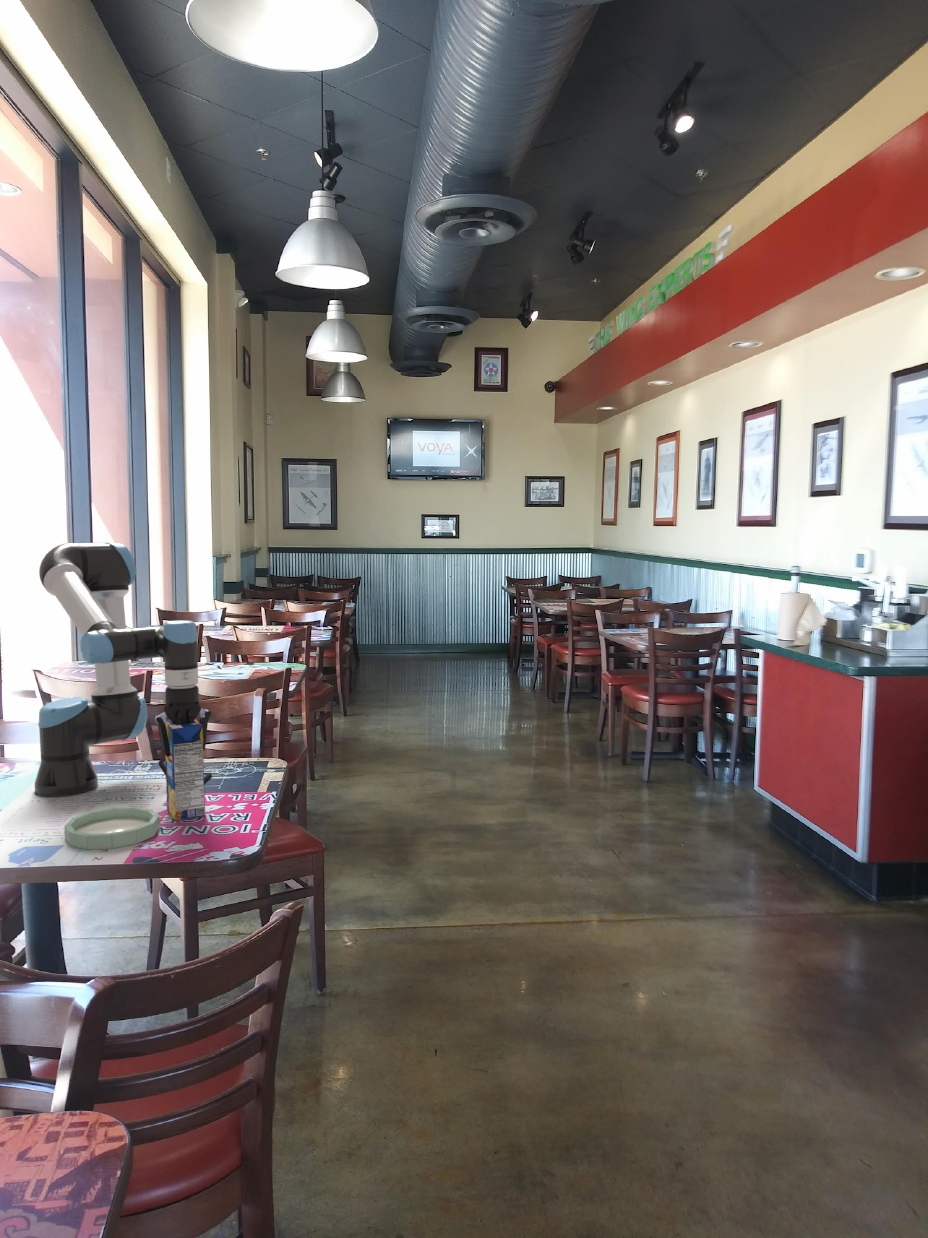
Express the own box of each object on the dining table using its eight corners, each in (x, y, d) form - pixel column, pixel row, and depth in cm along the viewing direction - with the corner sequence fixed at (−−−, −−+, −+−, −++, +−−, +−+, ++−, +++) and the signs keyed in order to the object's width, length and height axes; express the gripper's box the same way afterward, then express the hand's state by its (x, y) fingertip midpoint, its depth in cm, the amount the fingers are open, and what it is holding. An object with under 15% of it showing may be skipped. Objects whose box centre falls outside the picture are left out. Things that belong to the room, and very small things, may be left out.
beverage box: (175, 821, 199) (172, 729, 197) (167, 808, 208) (164, 720, 206) (205, 816, 202) (202, 726, 200) (195, 804, 212) (193, 717, 210)
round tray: (58, 830, 193) (57, 817, 192) (144, 814, 204) (143, 802, 204) (77, 855, 177) (76, 841, 177) (169, 836, 189) (168, 823, 188)
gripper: (154, 691, 195) (157, 791, 197) (218, 684, 204) (221, 780, 206) (144, 686, 201) (148, 784, 203) (207, 680, 210) (210, 773, 212)
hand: (184, 782), depth 205 cm, fingers closed on beverage box, 2 cm apart
